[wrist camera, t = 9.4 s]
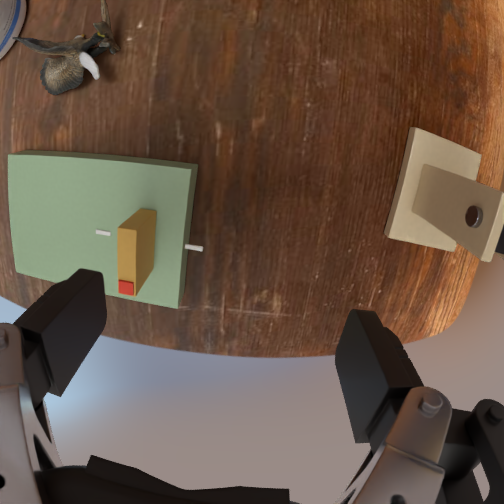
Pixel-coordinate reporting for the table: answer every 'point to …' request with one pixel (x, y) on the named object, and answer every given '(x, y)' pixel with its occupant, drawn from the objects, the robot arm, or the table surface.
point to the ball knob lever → (500, 243)
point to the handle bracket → (444, 198)
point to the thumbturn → (135, 251)
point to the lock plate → (99, 216)
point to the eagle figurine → (73, 56)
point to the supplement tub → (10, 22)
